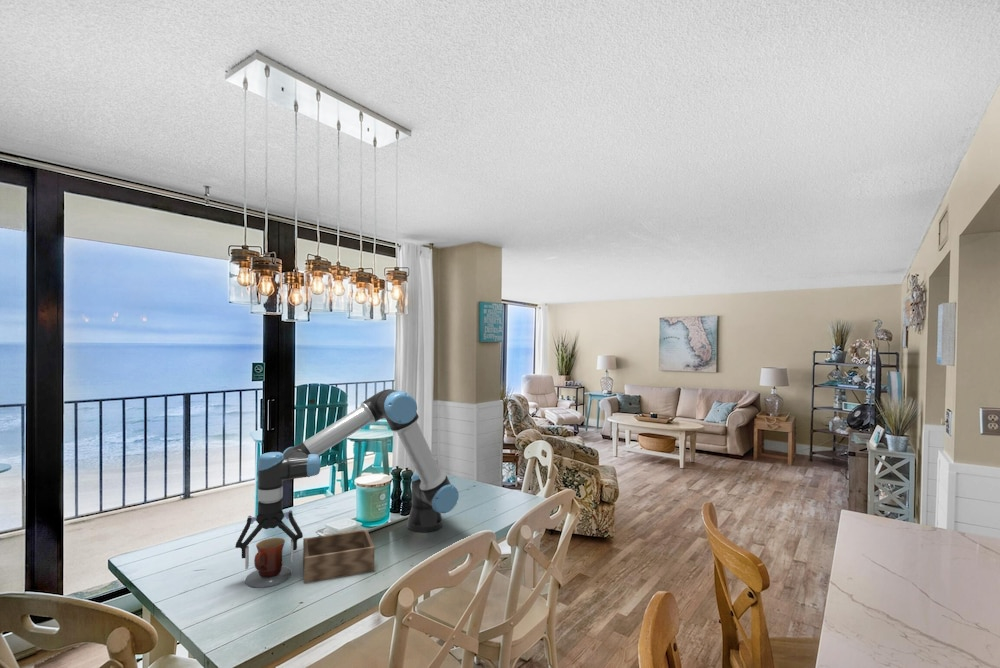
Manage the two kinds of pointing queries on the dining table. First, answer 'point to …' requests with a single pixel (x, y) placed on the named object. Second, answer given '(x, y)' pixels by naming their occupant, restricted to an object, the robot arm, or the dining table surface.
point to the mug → (269, 557)
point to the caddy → (337, 555)
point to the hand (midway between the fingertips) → (269, 563)
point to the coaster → (267, 579)
